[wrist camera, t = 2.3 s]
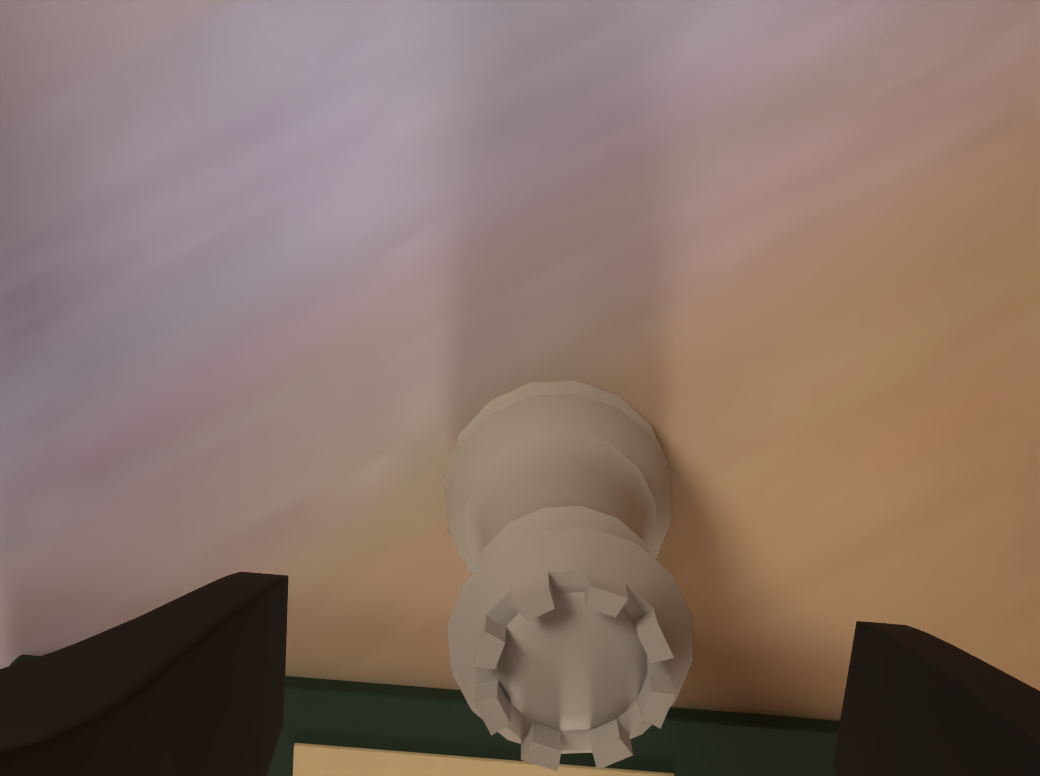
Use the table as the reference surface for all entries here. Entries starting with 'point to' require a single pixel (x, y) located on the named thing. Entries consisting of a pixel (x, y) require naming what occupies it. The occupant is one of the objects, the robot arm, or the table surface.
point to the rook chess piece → (565, 573)
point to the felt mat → (497, 761)
